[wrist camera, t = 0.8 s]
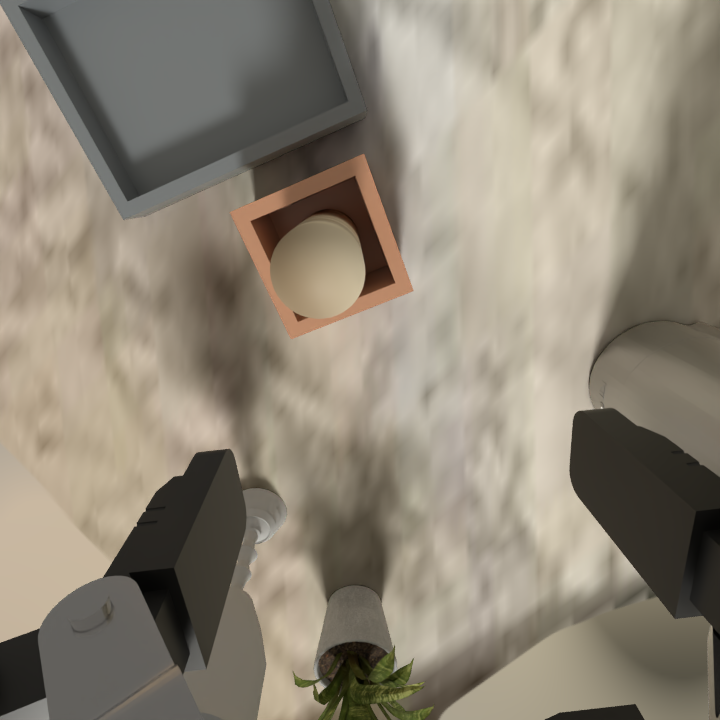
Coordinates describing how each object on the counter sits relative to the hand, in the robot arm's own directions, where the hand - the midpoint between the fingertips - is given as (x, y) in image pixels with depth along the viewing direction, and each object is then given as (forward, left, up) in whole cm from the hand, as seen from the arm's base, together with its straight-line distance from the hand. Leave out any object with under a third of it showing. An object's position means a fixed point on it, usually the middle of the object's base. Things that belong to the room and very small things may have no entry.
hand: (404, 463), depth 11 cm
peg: (+1, -3, -22) cm, 22 cm away
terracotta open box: (+1, -3, -23) cm, 23 cm away
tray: (+4, -15, -23) cm, 28 cm away
